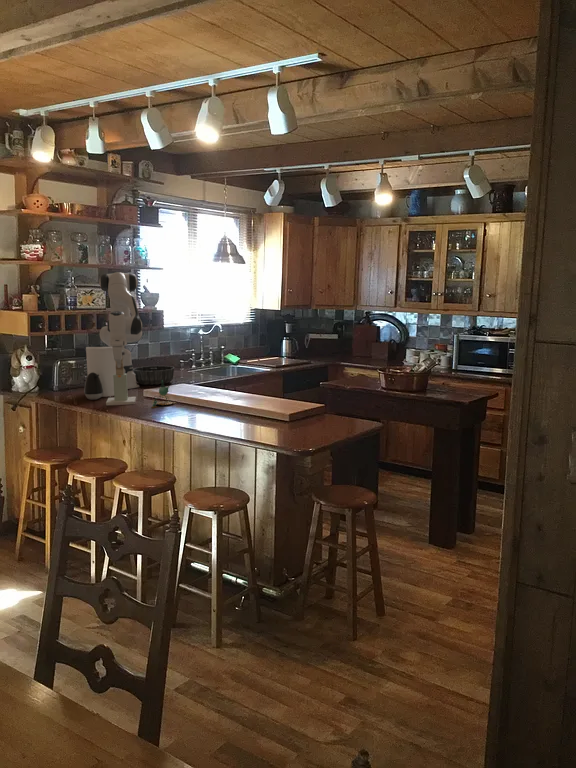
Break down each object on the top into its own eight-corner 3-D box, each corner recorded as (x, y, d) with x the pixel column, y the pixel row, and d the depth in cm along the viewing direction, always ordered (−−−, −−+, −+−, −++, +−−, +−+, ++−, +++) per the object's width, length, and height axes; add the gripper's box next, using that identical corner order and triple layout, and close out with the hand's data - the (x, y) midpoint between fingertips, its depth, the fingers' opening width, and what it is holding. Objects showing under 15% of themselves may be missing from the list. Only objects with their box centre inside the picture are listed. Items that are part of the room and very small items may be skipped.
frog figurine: (143, 406, 363) (144, 379, 362) (170, 405, 376) (171, 378, 375) (153, 408, 356) (155, 380, 355) (181, 407, 369) (182, 380, 368)
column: (116, 397, 378) (113, 351, 374) (127, 397, 379) (124, 351, 375) (115, 399, 372) (112, 352, 368) (126, 399, 373) (124, 352, 369)
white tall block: (114, 396, 393) (112, 348, 389) (84, 396, 394) (81, 348, 389) (122, 391, 410) (120, 345, 406) (93, 391, 411) (91, 345, 406)
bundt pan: (124, 385, 432) (124, 369, 430) (148, 379, 456) (148, 364, 454) (160, 387, 422) (159, 371, 420) (182, 381, 446) (182, 366, 444)
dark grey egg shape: (92, 401, 380) (90, 374, 377) (81, 399, 386) (79, 372, 384) (107, 398, 388) (105, 372, 385) (95, 396, 394) (94, 370, 392)
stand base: (108, 400, 382) (107, 372, 379) (136, 399, 384) (134, 372, 382) (106, 405, 367) (104, 376, 365) (134, 404, 370) (133, 375, 367)
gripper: (113, 340, 380) (115, 364, 382) (110, 343, 360) (112, 369, 362) (125, 339, 381) (126, 364, 383) (122, 343, 361) (124, 369, 363)
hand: (119, 366), depth 373 cm, fingers closed on column, 4 cm apart
